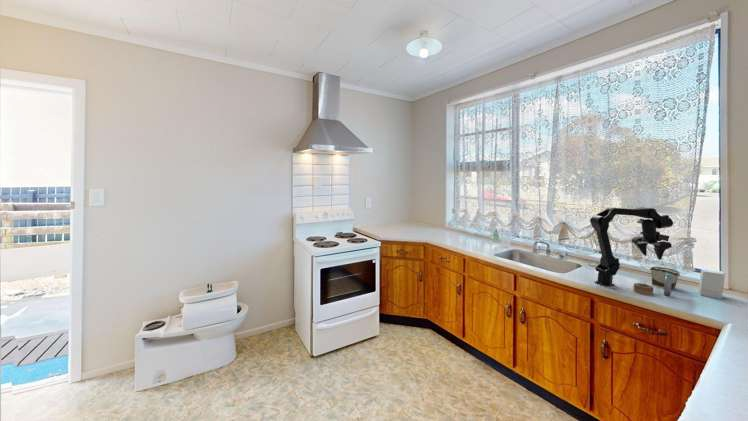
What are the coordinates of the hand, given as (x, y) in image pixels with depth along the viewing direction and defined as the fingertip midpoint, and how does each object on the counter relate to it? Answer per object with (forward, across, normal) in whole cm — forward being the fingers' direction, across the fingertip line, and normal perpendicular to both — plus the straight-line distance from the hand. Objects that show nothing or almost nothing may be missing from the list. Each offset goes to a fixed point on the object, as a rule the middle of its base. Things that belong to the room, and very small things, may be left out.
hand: (652, 257), depth 161 cm
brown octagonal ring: (+13, -12, +16) cm, 24 cm away
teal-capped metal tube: (+15, -16, +8) cm, 23 cm away
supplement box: (+19, -13, -15) cm, 28 cm away
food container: (+17, -1, -4) cm, 18 cm away
